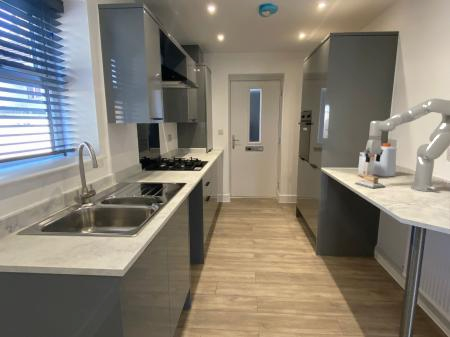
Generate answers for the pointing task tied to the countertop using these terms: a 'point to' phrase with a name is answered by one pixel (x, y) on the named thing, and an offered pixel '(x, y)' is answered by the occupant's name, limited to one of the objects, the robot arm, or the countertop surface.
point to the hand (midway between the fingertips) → (372, 161)
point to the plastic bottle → (386, 162)
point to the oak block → (370, 179)
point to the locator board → (370, 185)
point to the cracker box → (365, 165)
